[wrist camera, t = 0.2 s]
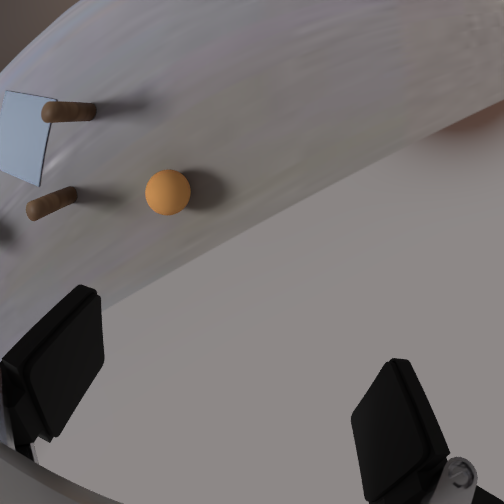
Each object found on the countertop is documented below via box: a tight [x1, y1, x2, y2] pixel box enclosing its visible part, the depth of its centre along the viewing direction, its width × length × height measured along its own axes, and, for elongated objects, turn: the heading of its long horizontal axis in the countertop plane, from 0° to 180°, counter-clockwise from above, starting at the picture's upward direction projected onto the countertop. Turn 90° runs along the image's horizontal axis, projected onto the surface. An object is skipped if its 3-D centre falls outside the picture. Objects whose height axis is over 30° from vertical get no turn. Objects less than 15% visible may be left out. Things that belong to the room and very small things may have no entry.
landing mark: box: [0, 91, 57, 187], centre depth 35 cm, size 14×14×1 cm
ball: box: [145, 170, 191, 215], centre depth 35 cm, size 6×6×6 cm
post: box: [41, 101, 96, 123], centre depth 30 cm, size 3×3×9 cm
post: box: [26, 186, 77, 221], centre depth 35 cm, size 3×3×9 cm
